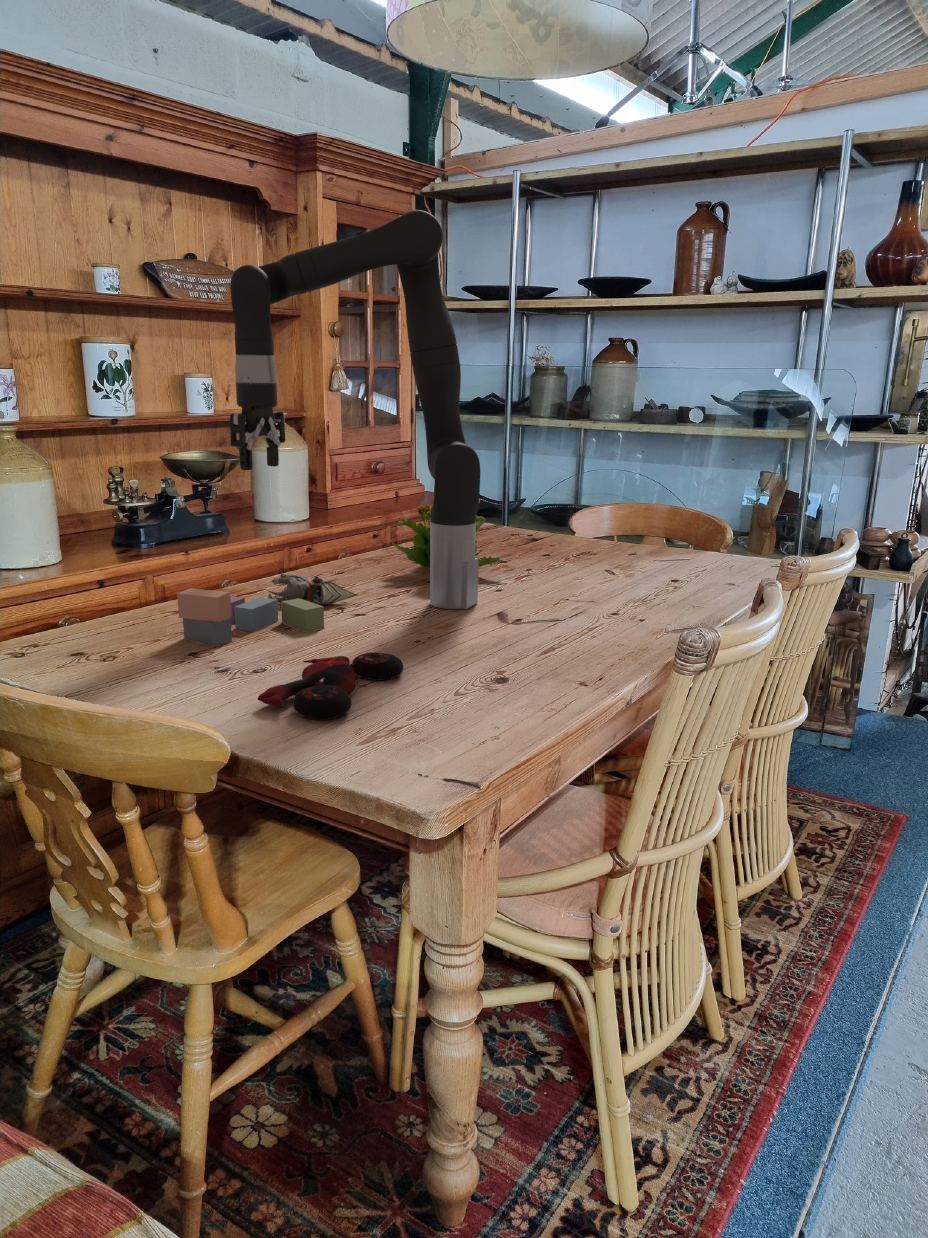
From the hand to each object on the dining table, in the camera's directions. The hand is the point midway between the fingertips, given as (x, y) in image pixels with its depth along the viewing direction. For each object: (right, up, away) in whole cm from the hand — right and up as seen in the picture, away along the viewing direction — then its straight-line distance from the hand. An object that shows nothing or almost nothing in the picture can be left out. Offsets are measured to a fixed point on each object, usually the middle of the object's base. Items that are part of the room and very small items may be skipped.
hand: (260, 467), depth 168 cm
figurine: (+8, -26, +14) cm, 31 cm away
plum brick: (-7, -29, 0) cm, 30 cm away
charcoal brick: (-6, -33, -13) cm, 36 cm away
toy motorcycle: (+19, -40, -36) cm, 57 cm away
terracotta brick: (-6, -29, -14) cm, 33 cm away
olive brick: (+9, -30, -3) cm, 32 cm away
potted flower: (+36, -19, +40) cm, 57 cm away
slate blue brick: (0, -30, -3) cm, 30 cm away
